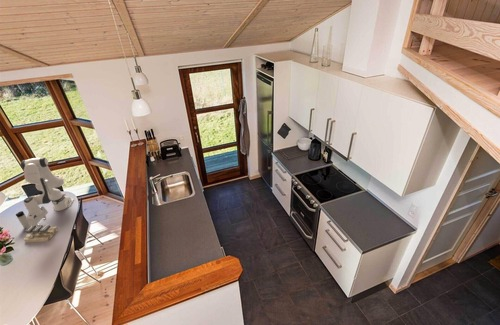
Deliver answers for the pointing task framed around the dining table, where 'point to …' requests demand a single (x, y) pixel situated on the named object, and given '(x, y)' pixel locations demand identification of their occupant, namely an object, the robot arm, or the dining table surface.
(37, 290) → the dining table surface
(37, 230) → the knob
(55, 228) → the panel
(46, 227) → the knob
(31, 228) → the knob
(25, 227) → the travel mug
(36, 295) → the dining table surface
